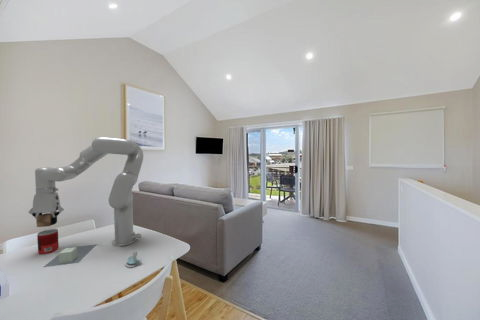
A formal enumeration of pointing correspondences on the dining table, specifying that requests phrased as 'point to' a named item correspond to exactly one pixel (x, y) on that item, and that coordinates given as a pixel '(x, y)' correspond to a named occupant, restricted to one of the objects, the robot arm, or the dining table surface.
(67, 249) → the sage block
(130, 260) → the pacifier
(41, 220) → the walnut block
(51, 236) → the canned food
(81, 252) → the mat
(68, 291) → the dining table surface
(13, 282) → the dining table surface
